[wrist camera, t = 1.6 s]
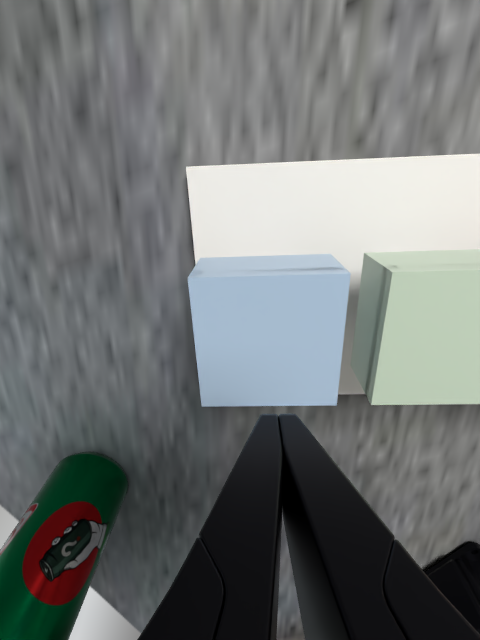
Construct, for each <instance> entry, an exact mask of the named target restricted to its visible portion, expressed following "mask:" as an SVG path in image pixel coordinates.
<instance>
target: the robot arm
mask: <svg viewBox="0 0 480 640" xmlns="http://www.w3.org/2000/svg"><path fill="white" fill-rule="evenodd" d="M282 511H283V519H284V525H285V531H286V536H287V542H288V547H289V553H290V558H291V564H292V569H293V575H294V580H295V586H296V591H297V597H298V602H299V608H300V613H301V619H302V624H303V630H304V635H305V640H480V545H479V544H477V543H468V544H466V545H465V546H463V547H462V548H460V549H459V550H457V551H456V552H454V553H453V554H451V555H450V556H448V557H447V558H445V559H444V560H442V561H441V562H439V563H438V564H436V565H435V566H433V567H432V568H430V569H429V570H427V571H426V572H424V571H423V570H422V569H421V568H420V567H419V565H418V564H417V563H416V562H415V561H414V560H413V558H412V557H411V556H410V555H409V553H408V552H407V551H406V550H405V548H404V547H403V546H402V545H401V543H400V542H399V541H398V540H394V535H393V534H392V532H391V531H390V530H389V529H388V528H387V526H386V525H385V524H384V523H383V521H382V520H381V519H380V518H379V516H378V515H377V514H376V513H375V511H374V510H373V509H372V508H371V507H370V505H369V504H368V503H367V502H366V500H365V499H364V498H363V497H362V495H361V494H360V493H359V492H358V491H357V489H356V488H355V487H354V486H353V484H352V483H351V482H350V481H349V479H348V478H347V477H346V476H345V474H344V473H343V472H342V471H341V470H340V468H339V467H338V466H337V465H336V463H335V462H334V461H333V460H332V458H331V457H330V456H329V455H328V453H327V452H326V451H325V450H324V449H323V447H322V446H321V445H320V444H319V442H318V441H317V440H316V439H315V437H314V436H313V435H312V434H311V432H310V431H309V430H308V429H307V428H306V426H305V425H304V424H303V423H302V421H301V420H300V419H299V418H298V416H297V415H295V414H280V415H279V416H277V415H276V414H262V415H260V417H259V419H258V421H257V422H256V424H255V426H254V428H253V430H252V432H251V434H250V436H249V438H248V440H247V442H246V444H245V446H244V448H243V450H242V452H241V454H240V456H239V457H238V459H237V461H236V463H235V465H234V467H233V469H232V471H231V473H230V475H229V477H228V479H227V481H226V483H225V485H224V487H223V489H222V491H221V492H220V494H219V496H218V498H217V500H216V502H215V504H214V506H213V508H212V510H211V512H210V514H209V516H208V518H207V520H206V522H205V524H204V526H203V528H202V529H201V531H200V533H199V538H197V539H196V541H195V543H194V545H193V547H192V548H191V550H190V552H189V554H188V556H187V558H186V560H185V562H184V564H183V565H182V567H181V569H180V571H179V573H178V574H177V576H176V578H175V580H174V582H173V583H172V585H171V587H170V589H169V591H168V592H167V594H166V595H165V597H164V599H163V600H162V602H161V603H160V605H159V607H158V608H157V610H156V611H155V613H154V615H153V616H152V618H151V620H150V621H149V623H148V624H147V626H146V627H145V629H144V630H143V632H142V634H141V635H140V637H139V638H138V640H276V634H277V613H278V592H279V571H280V549H281V528H282Z"/></svg>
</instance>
